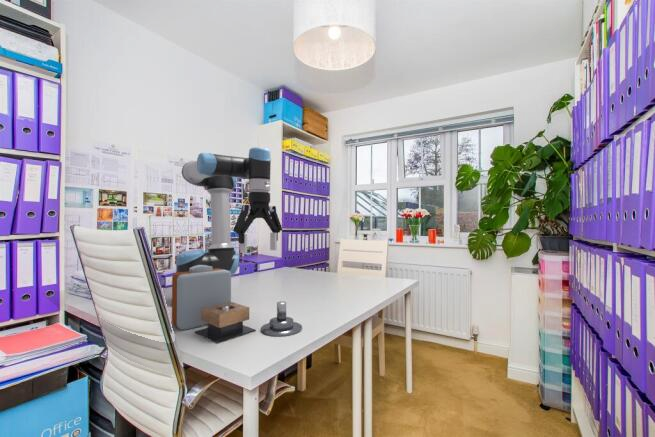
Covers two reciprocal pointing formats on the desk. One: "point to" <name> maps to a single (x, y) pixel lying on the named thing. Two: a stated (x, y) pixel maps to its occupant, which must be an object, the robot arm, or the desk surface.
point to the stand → (224, 331)
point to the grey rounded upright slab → (198, 294)
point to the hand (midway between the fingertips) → (259, 251)
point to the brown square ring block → (224, 314)
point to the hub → (281, 323)
